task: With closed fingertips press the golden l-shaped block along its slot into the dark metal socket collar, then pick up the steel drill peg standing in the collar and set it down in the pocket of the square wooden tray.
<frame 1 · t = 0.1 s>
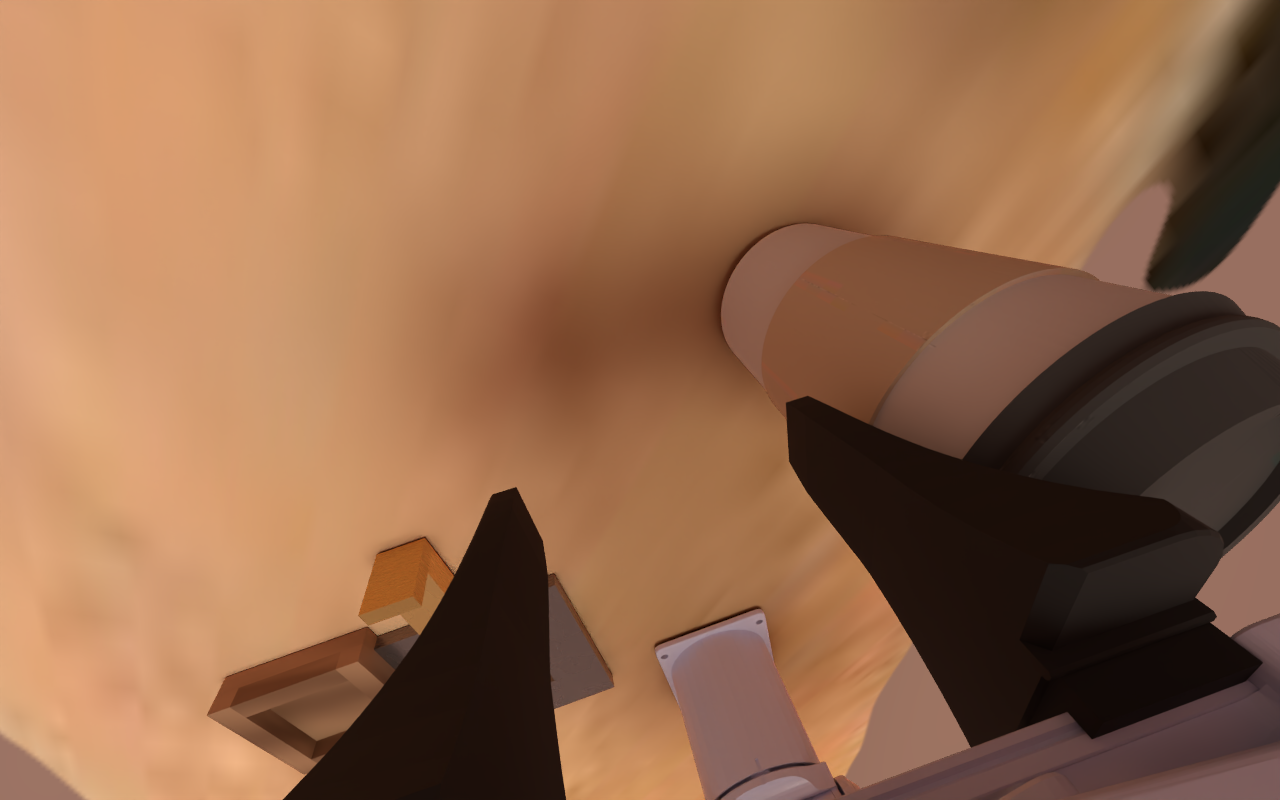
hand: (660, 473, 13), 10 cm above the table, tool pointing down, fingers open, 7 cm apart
square wooden tray: (339, 686, 29), on the table
socket collar: (496, 662, 31), on the table
golden l-shaped block: (424, 609, 25), point 2 cm above the table, slide at 0.0 cm
coffee cup: (787, 300, 22), on the table
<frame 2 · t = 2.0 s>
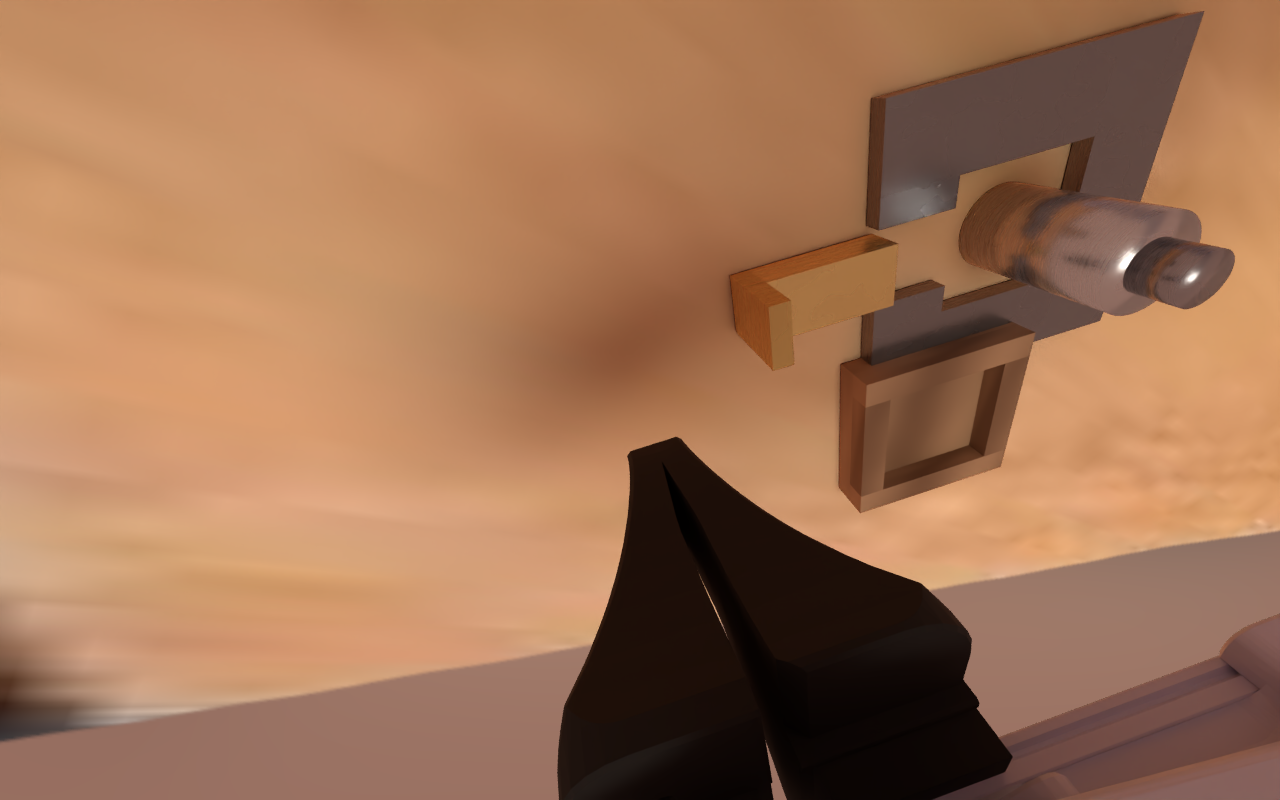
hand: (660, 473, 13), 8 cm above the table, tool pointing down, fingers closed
square wooden tray: (912, 408, 25), on the table
socket collar: (996, 225, 21), on the table
drill peg: (996, 225, 21), resting in socket collar
golden l-shaped block: (825, 298, 19), point 2 cm above the table, slide at 0.0 cm
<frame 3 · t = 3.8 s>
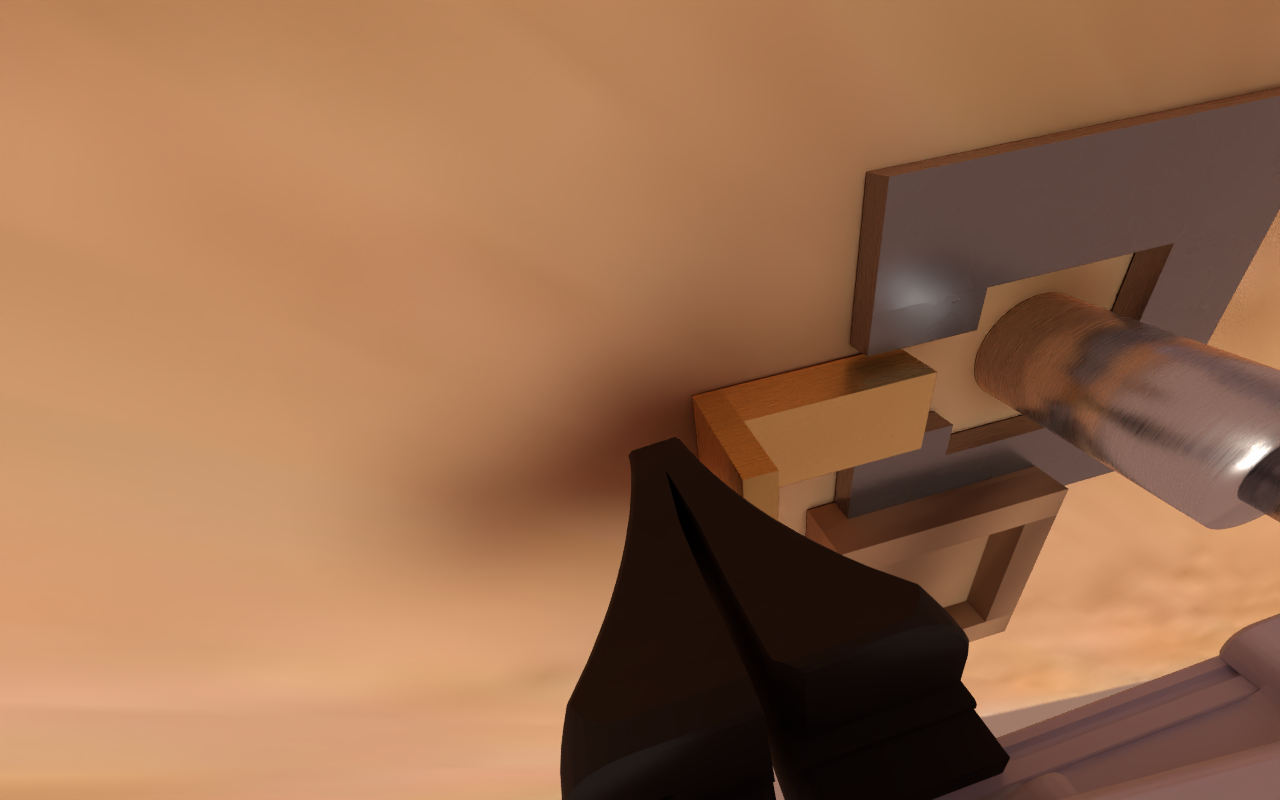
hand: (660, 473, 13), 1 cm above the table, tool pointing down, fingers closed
square wooden tray: (898, 555, 19), on the table
socket collar: (1026, 346, 15), on the table
drill peg: (1025, 346, 15), resting in socket collar
golden l-shaped block: (827, 442, 13), point 2 cm above the table, slide at 1.2 cm, touching gripper
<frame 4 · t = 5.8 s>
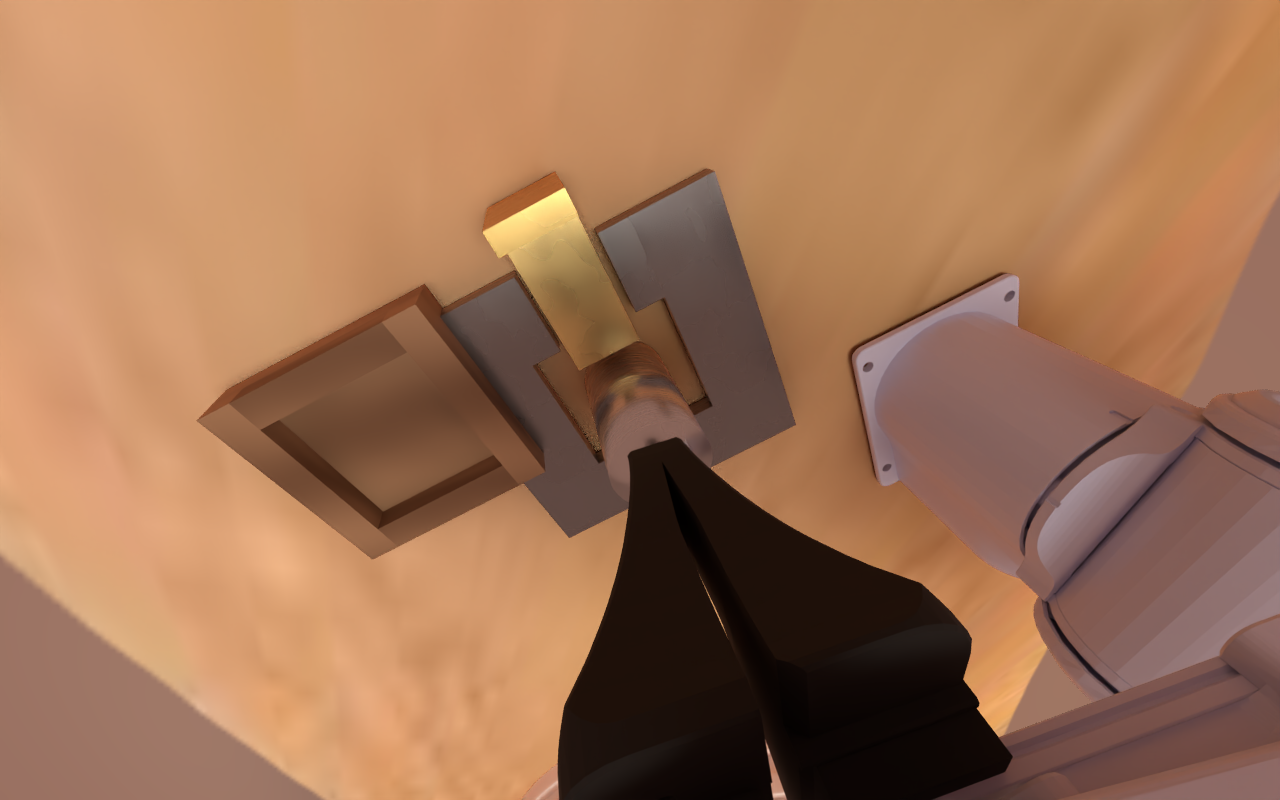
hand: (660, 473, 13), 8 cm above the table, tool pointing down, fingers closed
plate stack: (675, 785, 44), on the table
square wooden tray: (401, 419, 19), on the table
socket collar: (625, 378, 21), on the table
drill peg: (625, 377, 21), resting in socket collar
golden l-shaped block: (570, 285, 16), point 2 cm above the table, slide at 3.6 cm
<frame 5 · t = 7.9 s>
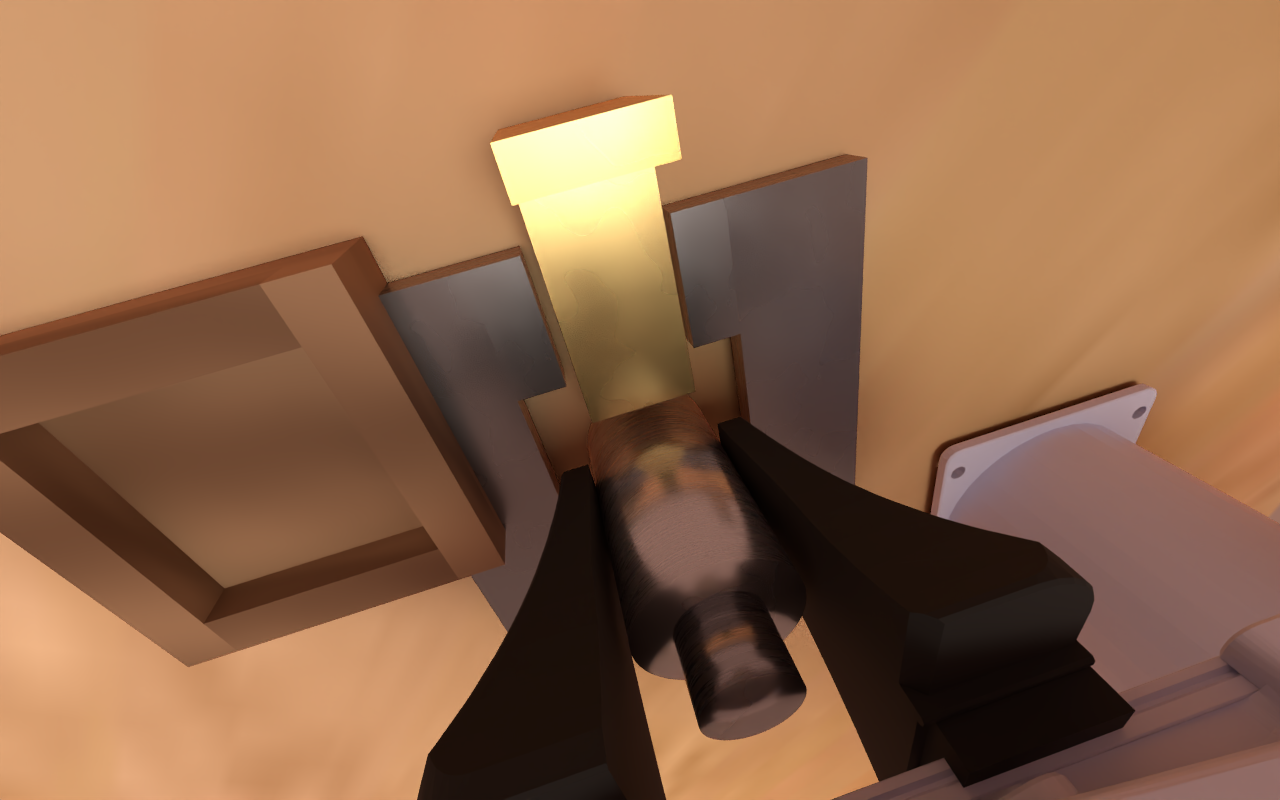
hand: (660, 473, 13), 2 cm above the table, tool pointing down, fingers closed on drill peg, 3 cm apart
square wooden tray: (284, 446, 12), on the table
socket collar: (647, 437, 14), on the table
drill peg: (646, 437, 14), resting in socket collar, touching gripper
golden l-shaped block: (614, 288, 10), point 2 cm above the table, slide at 3.6 cm
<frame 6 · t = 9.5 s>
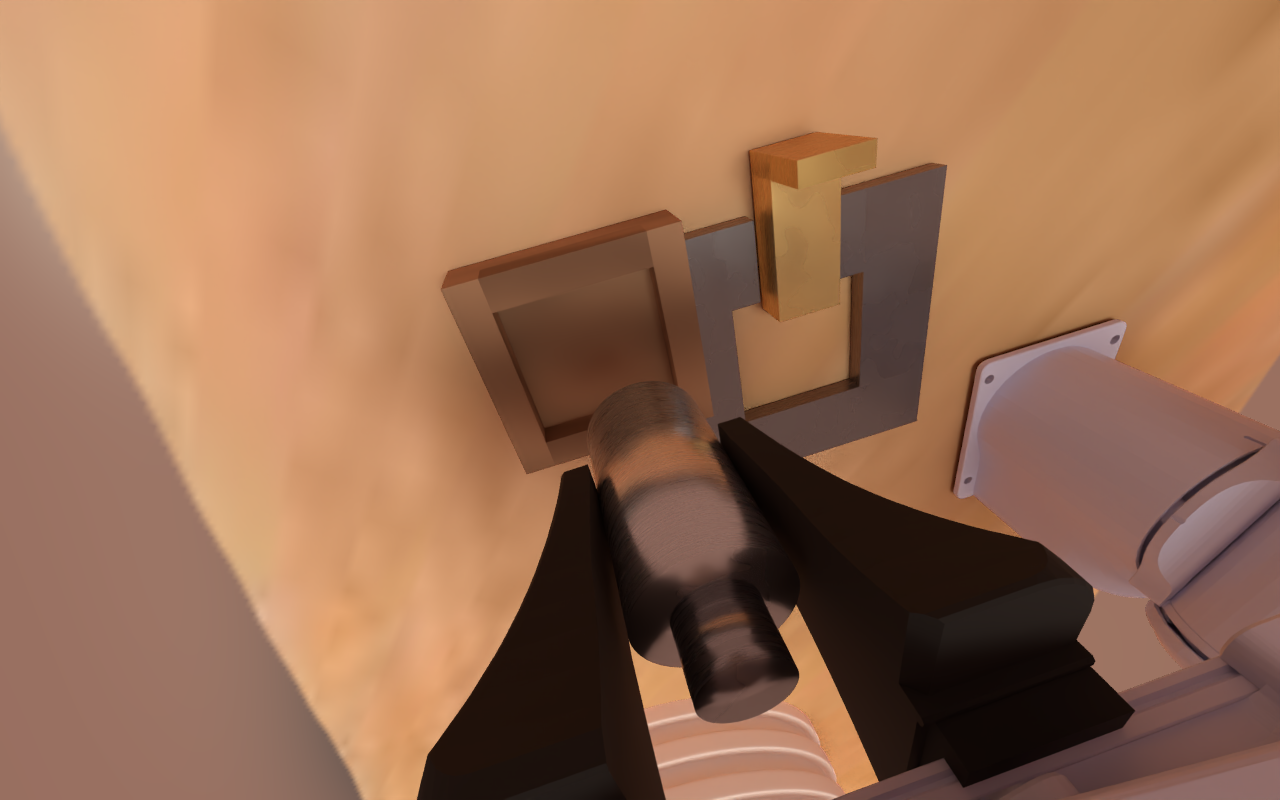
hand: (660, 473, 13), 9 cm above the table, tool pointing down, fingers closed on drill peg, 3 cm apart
plate stack: (663, 783, 43), on the table
square wooden tray: (589, 339, 20), on the table
socket collar: (792, 344, 22), on the table
drill peg: (645, 432, 14), point 7 cm above the table, touching gripper
golden l-shaped block: (810, 237, 17), point 2 cm above the table, slide at 3.6 cm
when the fingers open (3 cm above the table, at t = 10.9 s): drill peg stays where it is, resting on square wooden tray.
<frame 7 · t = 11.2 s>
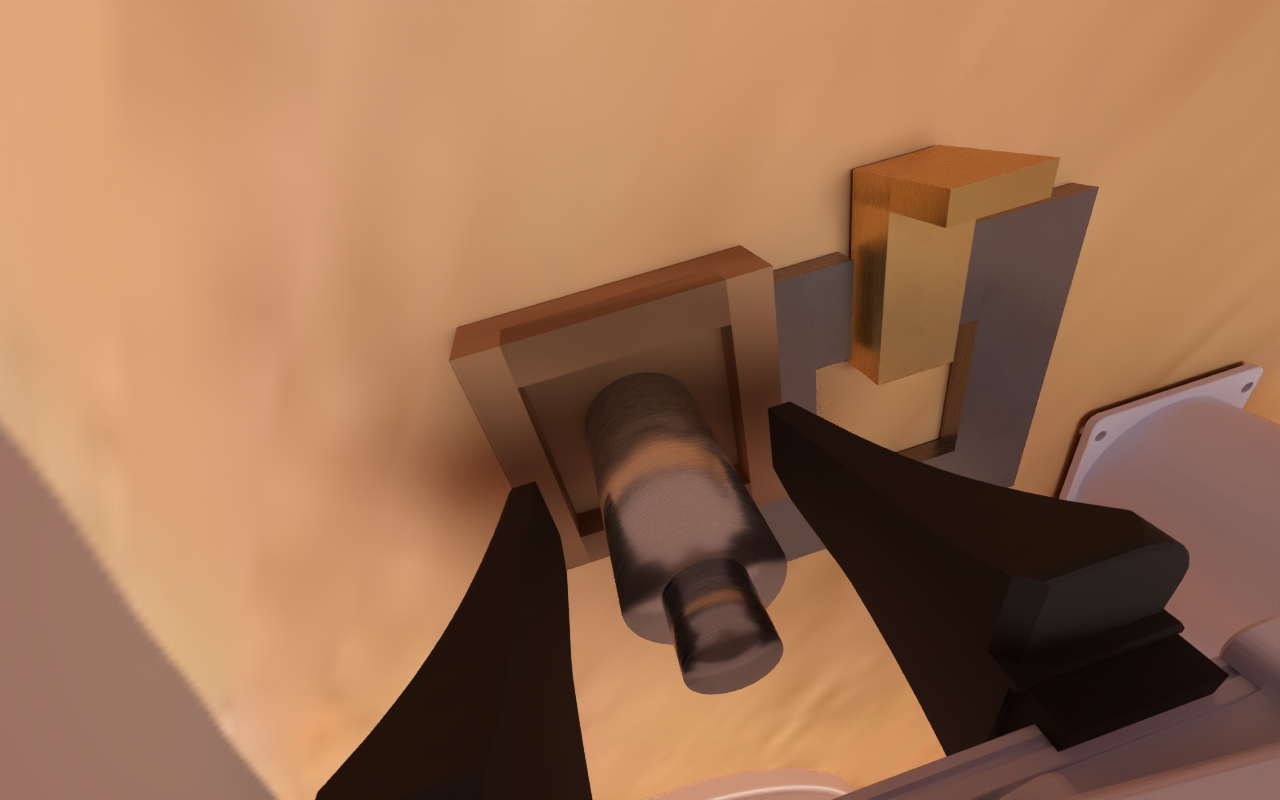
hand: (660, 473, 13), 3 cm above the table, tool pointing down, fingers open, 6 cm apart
square wooden tray: (634, 404, 15), on the table
socket collar: (877, 402, 18), on the table
drill peg: (641, 422, 15), point 1 cm above the table, touching square wooden tray
golden l-shaped block: (930, 283, 13), point 2 cm above the table, slide at 3.6 cm
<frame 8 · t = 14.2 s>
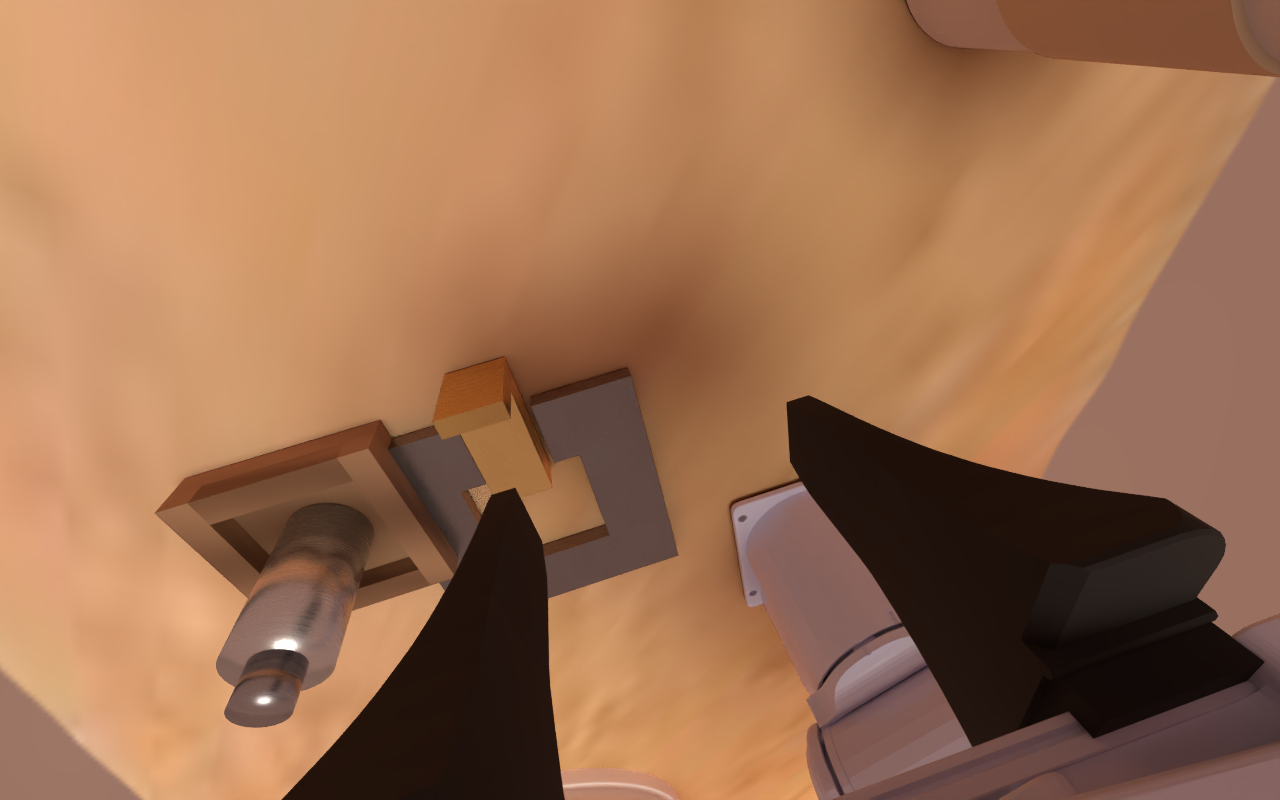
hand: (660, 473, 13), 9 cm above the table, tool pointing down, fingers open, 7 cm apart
square wooden tray: (337, 515, 22), on the table
socket collar: (539, 504, 25), on the table
drill peg: (330, 532, 21), point 1 cm above the table, touching square wooden tray
golden l-shaped block: (500, 447, 20), point 2 cm above the table, slide at 3.6 cm
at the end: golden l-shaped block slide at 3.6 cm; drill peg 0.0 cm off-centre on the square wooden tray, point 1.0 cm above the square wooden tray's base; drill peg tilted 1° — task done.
